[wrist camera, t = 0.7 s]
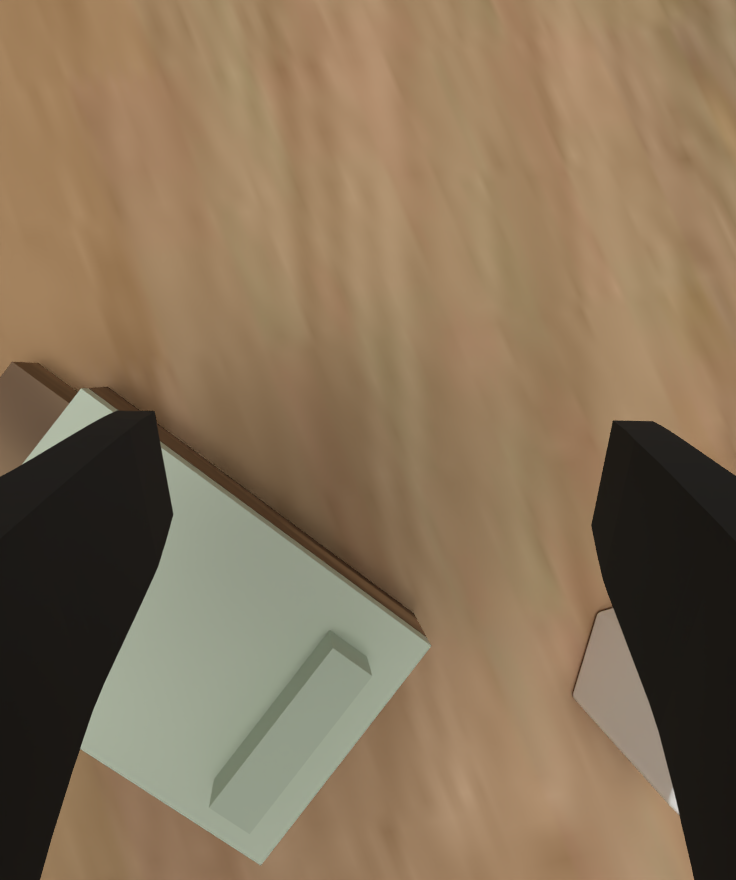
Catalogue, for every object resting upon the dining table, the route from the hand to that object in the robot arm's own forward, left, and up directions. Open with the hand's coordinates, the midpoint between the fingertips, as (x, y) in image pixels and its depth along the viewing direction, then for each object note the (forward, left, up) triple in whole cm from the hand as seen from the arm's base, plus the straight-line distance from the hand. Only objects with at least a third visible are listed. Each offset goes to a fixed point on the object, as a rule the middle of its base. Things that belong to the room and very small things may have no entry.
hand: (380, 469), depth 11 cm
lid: (-11, -1, -19) cm, 22 cm away
